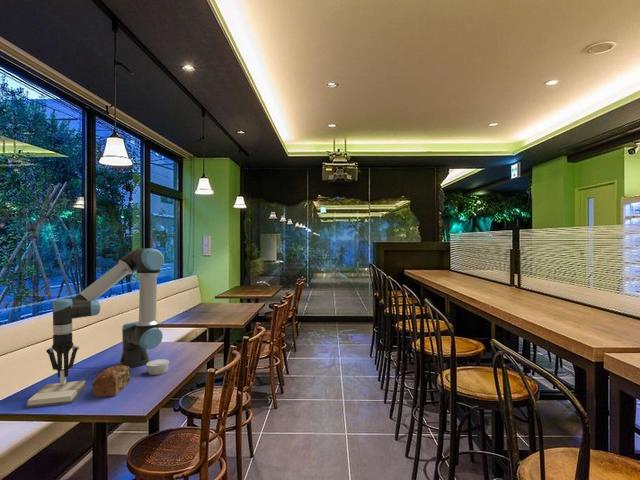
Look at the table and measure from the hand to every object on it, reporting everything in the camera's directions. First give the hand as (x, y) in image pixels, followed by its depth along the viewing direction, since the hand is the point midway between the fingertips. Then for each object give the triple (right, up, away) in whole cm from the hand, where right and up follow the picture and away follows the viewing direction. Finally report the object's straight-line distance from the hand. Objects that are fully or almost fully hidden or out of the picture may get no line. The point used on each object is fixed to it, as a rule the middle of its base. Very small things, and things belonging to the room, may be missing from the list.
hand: (63, 383), depth 183 cm
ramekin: (+34, -3, +25) cm, 42 cm away
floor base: (+2, -3, -6) cm, 7 cm away
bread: (+22, -3, +1) cm, 22 cm away
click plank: (+1, -2, -2) cm, 3 cm away
